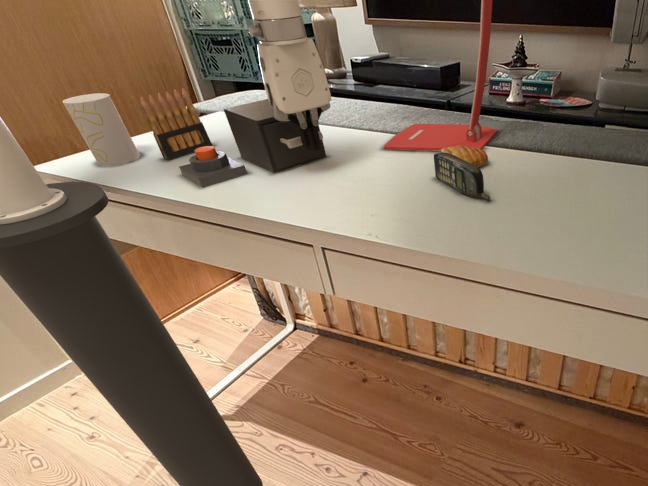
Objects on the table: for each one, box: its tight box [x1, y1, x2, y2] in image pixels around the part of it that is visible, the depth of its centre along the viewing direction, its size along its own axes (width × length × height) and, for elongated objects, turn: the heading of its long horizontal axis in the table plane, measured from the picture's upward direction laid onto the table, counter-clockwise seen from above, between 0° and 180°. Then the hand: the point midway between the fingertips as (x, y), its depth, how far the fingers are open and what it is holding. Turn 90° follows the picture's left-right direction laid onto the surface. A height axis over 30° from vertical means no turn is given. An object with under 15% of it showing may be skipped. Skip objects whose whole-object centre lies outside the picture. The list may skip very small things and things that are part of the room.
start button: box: [194, 145, 218, 160], centre depth 89 cm, size 4×4×2 cm
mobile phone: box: [433, 151, 491, 200], centre depth 80 cm, size 5×3×15 cm
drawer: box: [262, 114, 327, 169], centre depth 93 cm, size 18×11×8 cm, turn 46°
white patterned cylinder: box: [61, 92, 141, 167], centre depth 97 cm, size 8×8×12 cm
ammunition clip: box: [139, 87, 213, 161], centre depth 99 cm, size 11×2×12 cm, turn 146°
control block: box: [178, 150, 248, 188], centre depth 91 cm, size 9×10×4 cm
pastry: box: [440, 145, 489, 169], centre depth 89 cm, size 9×7×4 cm
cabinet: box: [223, 98, 327, 174], centre depth 95 cm, size 15×12×10 cm
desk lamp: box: [383, 0, 498, 152], centre depth 91 cm, size 18×38×40 cm, turn 73°
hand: (313, 148), depth 87 cm, fingers closed
